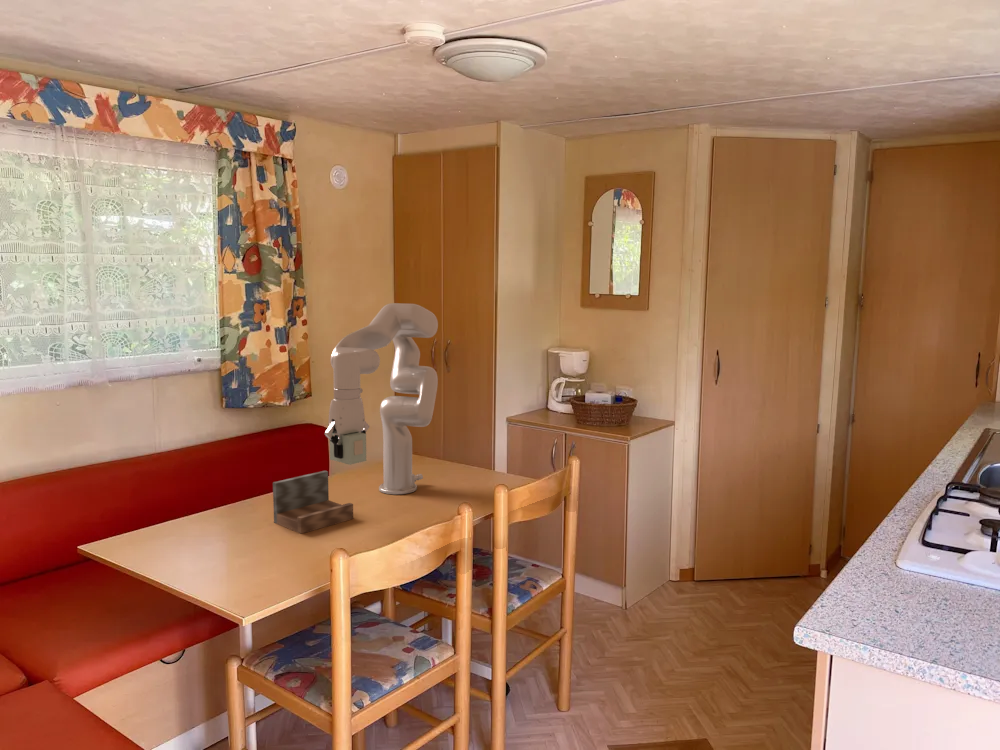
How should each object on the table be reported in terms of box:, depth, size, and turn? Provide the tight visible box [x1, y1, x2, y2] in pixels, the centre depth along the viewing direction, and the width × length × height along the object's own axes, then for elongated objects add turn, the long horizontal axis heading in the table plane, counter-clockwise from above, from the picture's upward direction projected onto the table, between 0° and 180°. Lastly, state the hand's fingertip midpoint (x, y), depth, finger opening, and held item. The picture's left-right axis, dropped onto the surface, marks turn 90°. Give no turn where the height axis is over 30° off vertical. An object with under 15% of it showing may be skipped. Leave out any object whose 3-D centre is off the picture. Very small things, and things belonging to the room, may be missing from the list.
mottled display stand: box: [272, 470, 354, 535], centre depth 226 cm, size 18×14×12 cm
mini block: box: [329, 432, 367, 466], centre depth 224 cm, size 6×9×8 cm, turn 50°
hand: (347, 455), depth 224 cm, fingers closed on mini block, 6 cm apart
